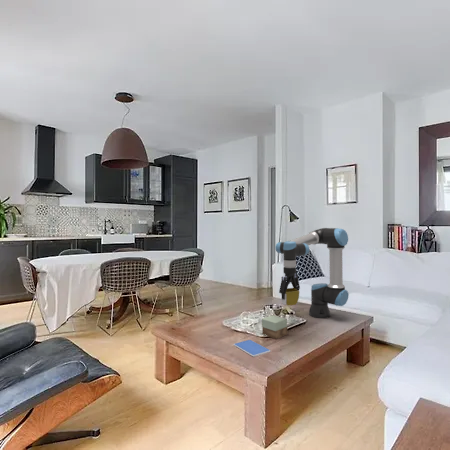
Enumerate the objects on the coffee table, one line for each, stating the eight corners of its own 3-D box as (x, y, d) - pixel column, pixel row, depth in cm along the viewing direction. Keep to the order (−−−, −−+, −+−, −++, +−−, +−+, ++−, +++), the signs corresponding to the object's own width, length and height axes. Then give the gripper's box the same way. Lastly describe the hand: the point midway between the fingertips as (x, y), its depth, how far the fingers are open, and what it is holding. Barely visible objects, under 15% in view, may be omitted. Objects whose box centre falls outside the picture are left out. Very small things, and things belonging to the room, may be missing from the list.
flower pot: (286, 306, 193) (286, 292, 192) (280, 303, 201) (280, 288, 201) (299, 305, 195) (299, 291, 194) (293, 302, 203) (293, 287, 203)
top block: (272, 322, 211) (272, 315, 210) (286, 326, 203) (286, 318, 202) (261, 326, 203) (261, 318, 203) (275, 331, 195) (275, 323, 195)
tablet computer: (232, 345, 187) (232, 343, 187) (250, 341, 194) (250, 338, 194) (253, 358, 171) (253, 355, 171) (271, 352, 178) (271, 350, 178)
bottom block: (273, 330, 211) (273, 322, 210) (287, 334, 203) (287, 326, 202) (262, 334, 203) (262, 326, 203) (276, 339, 195) (276, 331, 195)
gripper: (295, 263, 208) (295, 297, 209) (272, 268, 191) (273, 305, 192) (305, 265, 203) (305, 299, 203) (283, 270, 186) (283, 307, 187)
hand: (289, 302), depth 198 cm, fingers closed on flower pot, 11 cm apart
